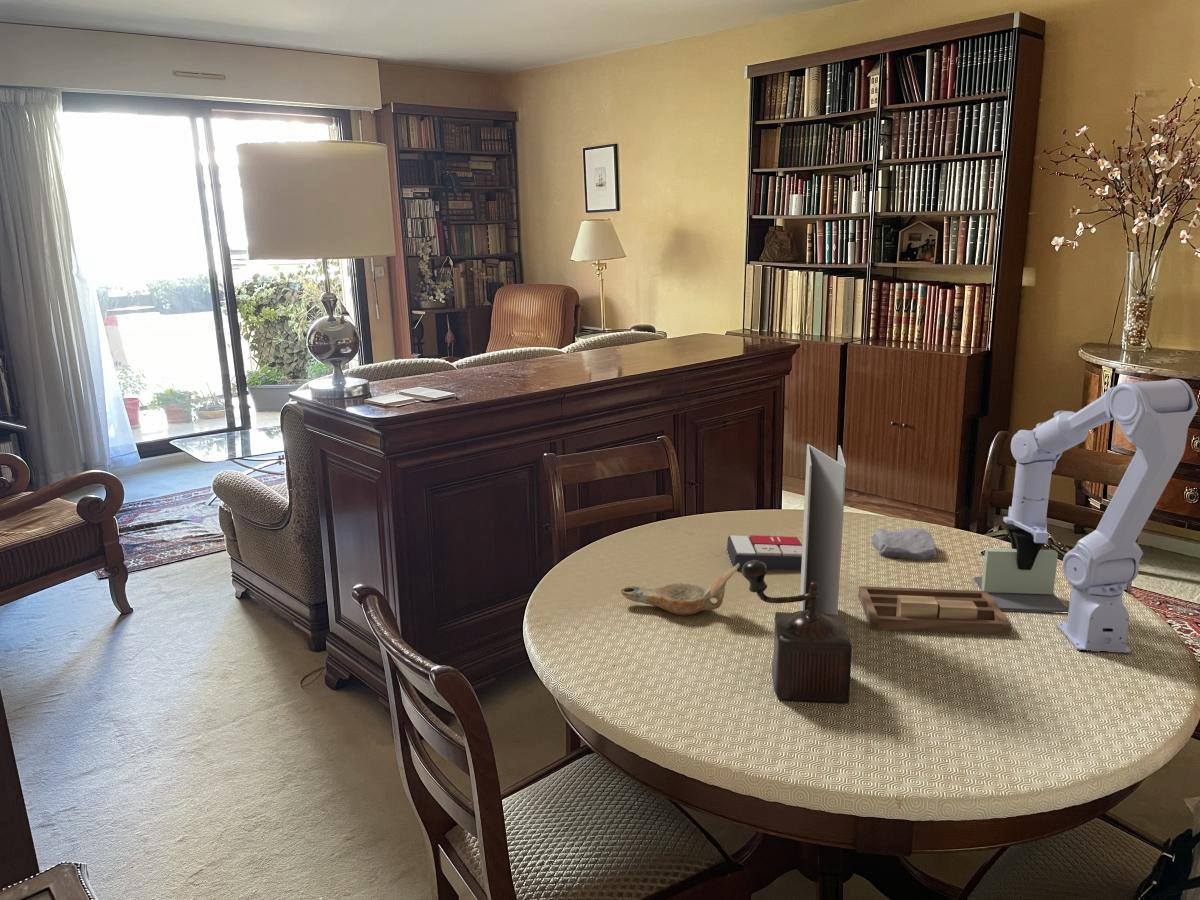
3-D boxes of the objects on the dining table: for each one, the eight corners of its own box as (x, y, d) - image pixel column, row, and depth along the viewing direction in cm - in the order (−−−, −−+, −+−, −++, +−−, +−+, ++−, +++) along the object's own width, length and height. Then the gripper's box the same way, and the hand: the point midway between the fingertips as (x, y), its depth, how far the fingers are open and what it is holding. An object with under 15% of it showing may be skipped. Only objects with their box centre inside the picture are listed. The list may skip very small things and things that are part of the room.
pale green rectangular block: (1053, 594, 156) (1058, 553, 154) (983, 592, 157) (987, 551, 155) (1049, 590, 157) (1054, 549, 155) (981, 588, 159) (985, 548, 157)
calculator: (811, 554, 170) (735, 551, 170) (808, 574, 171) (734, 571, 171) (798, 535, 181) (727, 532, 181) (796, 554, 182) (726, 551, 182)
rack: (1009, 635, 142) (1011, 624, 142) (871, 629, 145) (871, 618, 145) (985, 601, 155) (986, 591, 155) (858, 596, 158) (859, 586, 158)
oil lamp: (735, 626, 147) (736, 572, 145) (615, 613, 153) (614, 561, 150) (740, 605, 155) (742, 554, 153) (626, 594, 161) (626, 544, 158)
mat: (1068, 613, 150) (1069, 610, 150) (996, 610, 152) (997, 607, 151) (1039, 582, 163) (1040, 579, 163) (974, 579, 165) (974, 576, 165)
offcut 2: (975, 630, 145) (977, 608, 144) (938, 628, 145) (940, 607, 144) (970, 622, 148) (972, 601, 147) (934, 620, 148) (936, 599, 147)
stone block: (939, 568, 176) (926, 542, 185) (942, 549, 174) (928, 523, 182) (880, 569, 177) (869, 543, 186) (882, 549, 175) (871, 524, 184)
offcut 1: (935, 628, 146) (938, 604, 144) (899, 626, 146) (901, 602, 145) (931, 620, 148) (933, 596, 147) (895, 619, 149) (897, 595, 148)
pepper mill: (839, 666, 133) (845, 558, 129) (850, 705, 122) (858, 588, 118) (738, 662, 135) (741, 555, 130) (740, 699, 124) (744, 584, 120)
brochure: (835, 642, 141) (846, 467, 133) (801, 640, 142) (809, 465, 134) (831, 606, 154) (840, 445, 147) (799, 604, 155) (807, 444, 148)
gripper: (994, 483, 160) (987, 551, 164) (1020, 507, 146) (1012, 581, 150) (1034, 484, 159) (1026, 552, 163) (1064, 508, 145) (1055, 583, 149)
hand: (1022, 566), depth 156 cm, fingers closed on pale green rectangular block, 2 cm apart
